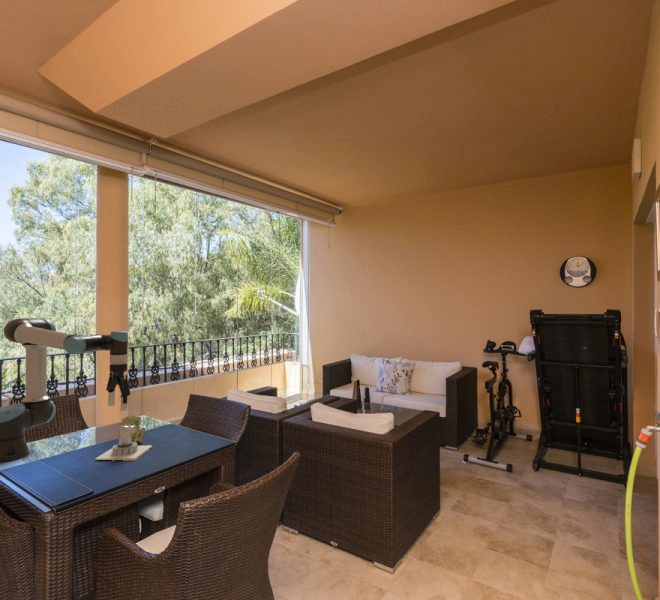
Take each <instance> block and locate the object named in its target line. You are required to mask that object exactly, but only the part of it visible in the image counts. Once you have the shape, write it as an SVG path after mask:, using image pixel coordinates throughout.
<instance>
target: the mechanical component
mask: <svg viewBox="0 0 660 600" xmlns="http://www.w3.org/2000/svg"><path fill="white" fill-rule="evenodd" d="M141 419H142V417H141V416H136V415H132V416H125V417H124V418H122V419H121V420H122V421H121V424H120V426H122V425H131V426H133V425H135V426H136V427H137V432H136V433H132V434H131V442H136V443H137V444H138V443H142V442H143V439H144V436H145V435H144V432H145V431H146V428H145V427H141V426H140V424H141ZM142 444H143V443H142Z"/></svg>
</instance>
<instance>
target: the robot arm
mask: <svg viewBox="0 0 660 600" xmlns="http://www.w3.org/2000/svg"><path fill="white" fill-rule="evenodd" d="M3 335H4V338H6V340H8V341H9V342H12V343H16V344H20V345H21V346H22V347H23V348H24V349H25V397H24V398H23V399H22V400H21V403H12V404H8V405H4V406H1V407H0V463H4V462H5V463H6V462H11V461H15V460H19V459H22V458H25V457H26V456H29V453H30V449H29V447H28V444H27V441H26V438H25V431H27V430H29V429H32V428H36V427H40V426H43V425H45V424H48V423H50V422H51V421H52V420H53V419H54V417H55V415H56V411H57V410H56V409H57V408H56V404H54V401H52V400H51V397H50V396H49V395H48V394H47V393H48V392H47V391H48V390H47V389H48V388H47V387H48V386H47V381H48V380H47V378H48V376H47V373H48V372H47V371H48V369H47V365H48V364H47V358H48V357H47V355H48V354H47V350H48V347H49V348H52V349H53V348H54V349H59V350H63V351H65V352H66V353H67V354H71V355H72V354H75V355H77V354H83V353H89V352H99V351H108V352H109V363H110V364H109V376H108V381H107V384H106V389H105V391H107V394H108V395H107V396H108V397H107V400H108V401H107V406H108V407H113V406H114V407H115V406H116V404H115V403H116V401H115V400H116V387H117V386H118V388H119V391H120V394H121V395H120V412H123V411H128V398H129V396H131V390H130V385H129V381H128V374H125V372H127V371H128V357H129V355H128V347H129V346H128V345H129V335H128V331H126V330H112V331H110V334H98V333H97V334H90V335H76V334H71V333H67V332H61V331H57V329H56V326H55V324H54V322H52V321H51V319H48V318H46V317H45V318H43V317H35V318H34V317H33V318H31V317H29V318H25V317H24V318H14V319H12V320H10V321H9V322H7V323H6V324H5V325H4V328H3Z"/></svg>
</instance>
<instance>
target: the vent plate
mask: <svg viewBox="0 0 660 600" xmlns="http://www.w3.org/2000/svg"><path fill="white" fill-rule="evenodd" d="M150 448H151V449H152V448H153V445H138V442H131V446H129V447H124V448H119V443H117V444H114V445H113V446H112V448H110V449H109V450H106V451H105V452H104V453H102V454H100V455H99V456H97V457H96V458H95V459H94V461H95V460H112V462H115V461H114V460H123V462H125V461H128V462H130V461H131V462H134V461H137V459H139V458H141V457H142V456H143V455H145V454H146V453H147V452H148V451H150V450H151V449H150ZM145 452H146V453H145Z"/></svg>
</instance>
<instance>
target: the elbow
mask: <svg viewBox="0 0 660 600" xmlns="http://www.w3.org/2000/svg"><path fill="white" fill-rule="evenodd" d="M136 432H137V427H136V426H135V425H133V426H131V425H122V426H121V425H120V426H119V427H118V444H119V448H124V447H129V446H131V434H132V433H136Z"/></svg>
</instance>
